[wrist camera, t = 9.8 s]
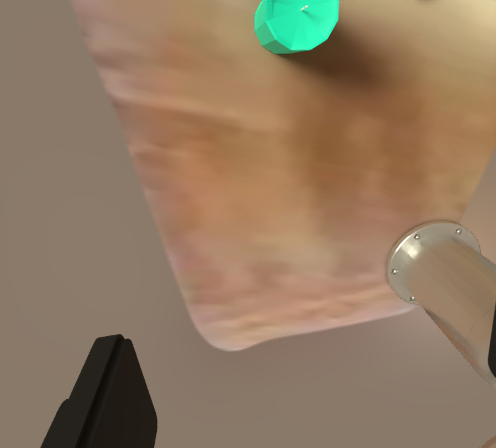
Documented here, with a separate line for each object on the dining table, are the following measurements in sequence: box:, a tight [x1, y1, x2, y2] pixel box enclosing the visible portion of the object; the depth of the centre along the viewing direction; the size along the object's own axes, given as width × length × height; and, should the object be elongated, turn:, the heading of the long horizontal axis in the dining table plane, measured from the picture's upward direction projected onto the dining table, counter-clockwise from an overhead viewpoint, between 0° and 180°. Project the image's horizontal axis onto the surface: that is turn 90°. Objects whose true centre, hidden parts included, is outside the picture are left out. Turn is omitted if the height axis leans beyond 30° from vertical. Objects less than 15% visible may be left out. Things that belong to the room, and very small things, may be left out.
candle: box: [255, 0, 339, 54], centre depth 34 cm, size 6×6×12 cm
